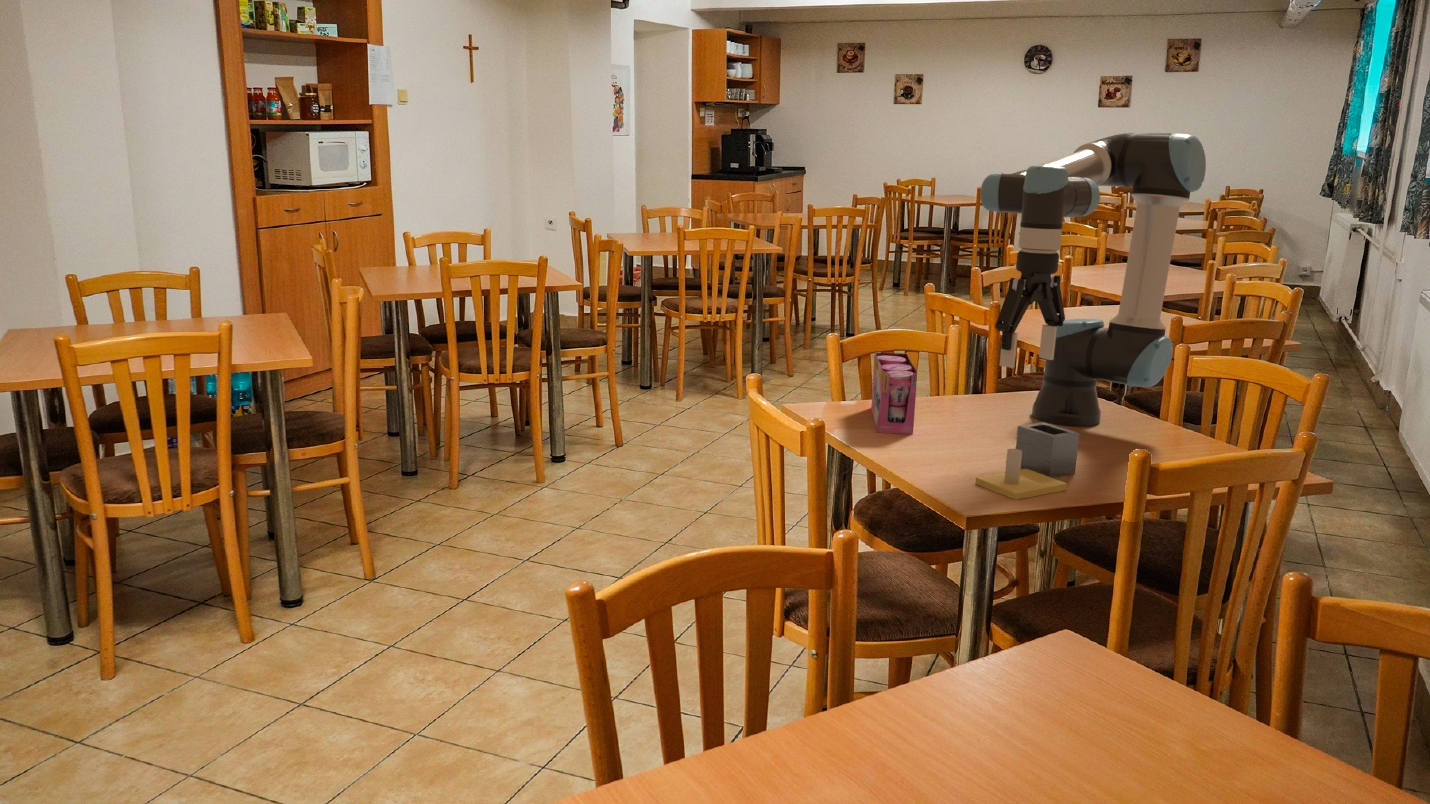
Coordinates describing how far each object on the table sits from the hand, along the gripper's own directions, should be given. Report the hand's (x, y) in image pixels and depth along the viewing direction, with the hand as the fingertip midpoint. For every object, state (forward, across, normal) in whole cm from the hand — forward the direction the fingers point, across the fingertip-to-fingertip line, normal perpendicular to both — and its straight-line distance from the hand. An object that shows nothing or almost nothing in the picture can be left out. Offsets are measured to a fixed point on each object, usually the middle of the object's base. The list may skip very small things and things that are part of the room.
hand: (1026, 362), depth 202 cm
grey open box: (+21, -3, +4) cm, 21 cm away
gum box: (+21, -8, -37) cm, 43 cm away
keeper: (+21, +11, +8) cm, 25 cm away
